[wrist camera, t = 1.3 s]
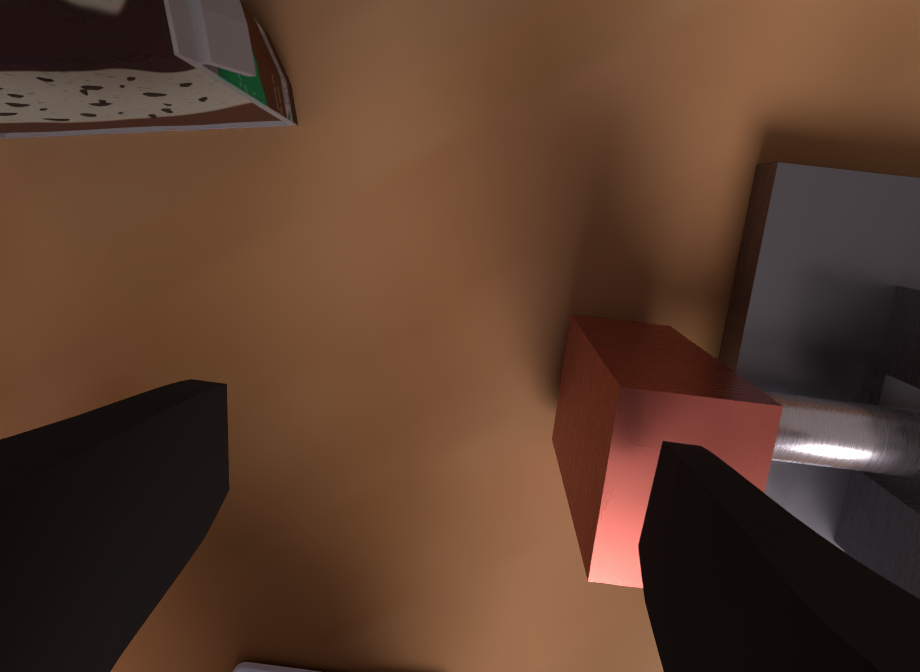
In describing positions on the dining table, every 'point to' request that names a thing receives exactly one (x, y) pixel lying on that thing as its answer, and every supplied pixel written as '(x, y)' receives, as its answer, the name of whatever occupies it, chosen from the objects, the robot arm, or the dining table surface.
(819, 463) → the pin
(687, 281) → the dining table surface
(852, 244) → the eye bracket
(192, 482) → the robot arm
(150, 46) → the food container
